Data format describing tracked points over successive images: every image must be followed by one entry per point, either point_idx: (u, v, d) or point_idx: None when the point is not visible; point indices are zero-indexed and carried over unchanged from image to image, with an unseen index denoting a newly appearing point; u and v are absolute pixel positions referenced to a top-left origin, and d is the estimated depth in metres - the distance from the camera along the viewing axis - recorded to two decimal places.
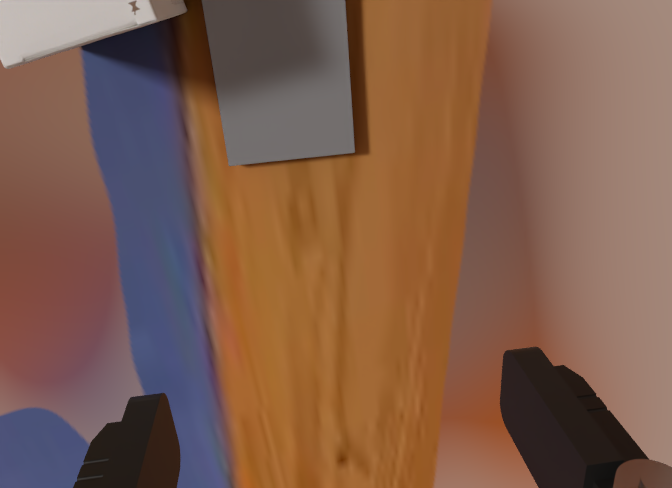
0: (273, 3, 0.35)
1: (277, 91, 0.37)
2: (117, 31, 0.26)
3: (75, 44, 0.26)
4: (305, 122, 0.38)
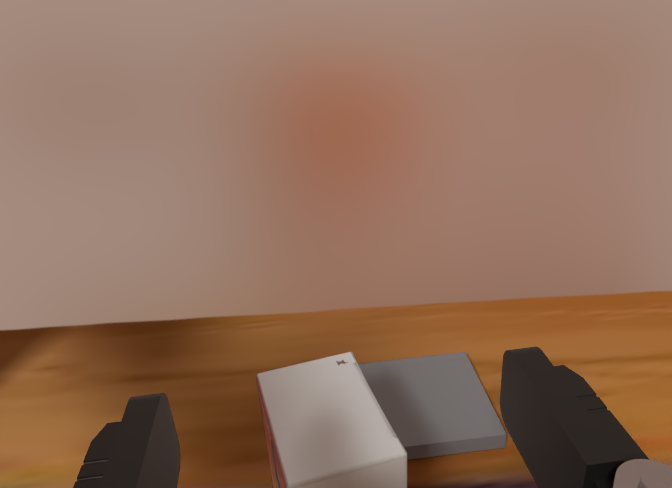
0: None
1: (421, 401, 0.40)
2: (362, 375, 0.29)
3: (376, 401, 0.27)
4: (446, 382, 0.42)
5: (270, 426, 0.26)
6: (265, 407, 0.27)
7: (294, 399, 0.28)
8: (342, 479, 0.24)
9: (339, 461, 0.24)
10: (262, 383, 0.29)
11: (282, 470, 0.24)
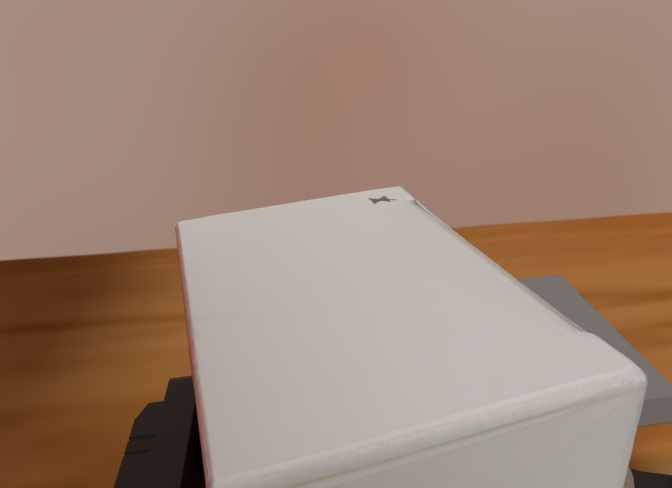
0: None
1: None
2: (435, 219, 0.12)
3: (488, 259, 0.10)
4: None
5: (187, 316, 0.09)
6: (183, 277, 0.10)
7: (262, 257, 0.10)
8: (427, 467, 0.06)
9: (412, 400, 0.07)
10: (184, 235, 0.11)
11: (201, 435, 0.06)
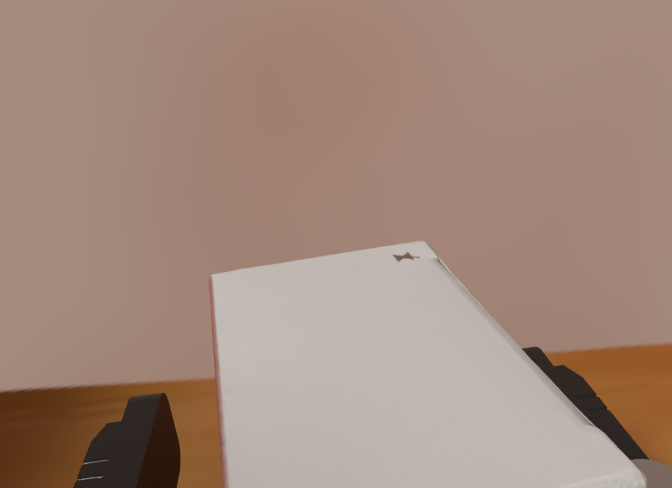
0: None
1: None
2: (456, 281, 0.12)
3: (504, 332, 0.10)
4: None
5: (217, 383, 0.10)
6: (214, 339, 0.11)
7: (289, 321, 0.11)
8: None
9: None
10: (217, 291, 0.12)
11: None
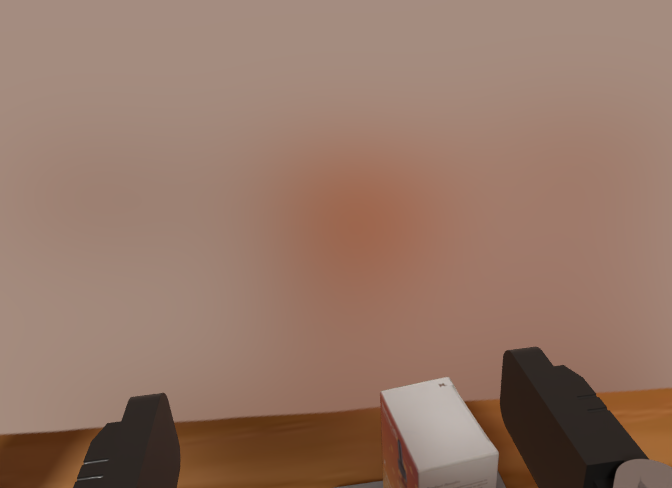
0: None
1: None
2: (459, 395, 0.40)
3: None
4: None
5: (398, 429, 0.37)
6: (391, 416, 0.38)
7: (412, 410, 0.38)
8: (454, 468, 0.34)
9: (451, 455, 0.35)
10: (386, 398, 0.40)
11: (412, 460, 0.35)
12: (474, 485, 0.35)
